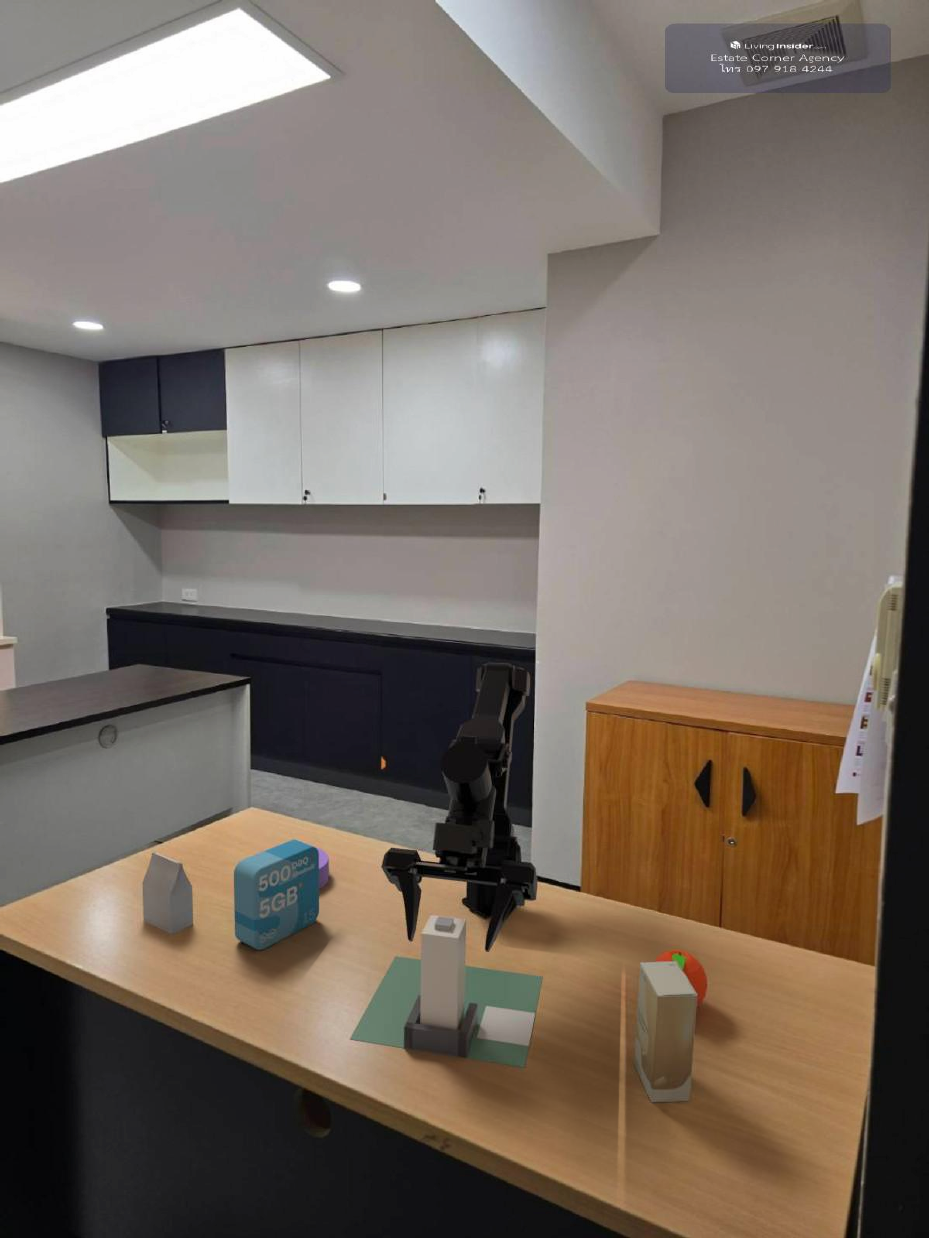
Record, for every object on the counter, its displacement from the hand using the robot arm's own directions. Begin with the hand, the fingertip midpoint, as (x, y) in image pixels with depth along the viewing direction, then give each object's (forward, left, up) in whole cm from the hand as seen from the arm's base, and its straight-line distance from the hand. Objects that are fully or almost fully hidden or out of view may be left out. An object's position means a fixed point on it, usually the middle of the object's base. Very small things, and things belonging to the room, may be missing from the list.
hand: (448, 945), depth 89 cm
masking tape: (-2, -46, -11) cm, 48 cm away
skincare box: (-13, +21, -11) cm, 27 cm away
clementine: (-25, +14, -11) cm, 31 cm away
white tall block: (+2, +1, -10) cm, 10 cm away
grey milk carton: (+19, -44, -11) cm, 49 cm away
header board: (-2, -2, -11) cm, 11 cm away
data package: (+7, -32, -11) cm, 35 cm away
